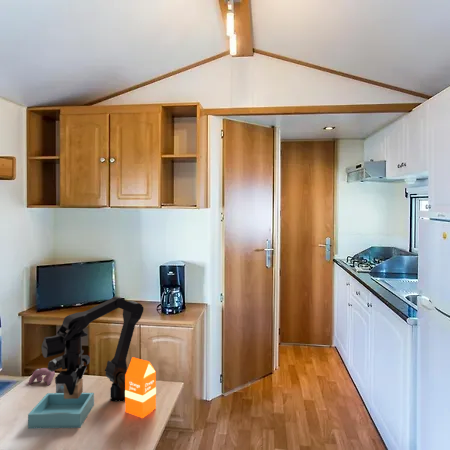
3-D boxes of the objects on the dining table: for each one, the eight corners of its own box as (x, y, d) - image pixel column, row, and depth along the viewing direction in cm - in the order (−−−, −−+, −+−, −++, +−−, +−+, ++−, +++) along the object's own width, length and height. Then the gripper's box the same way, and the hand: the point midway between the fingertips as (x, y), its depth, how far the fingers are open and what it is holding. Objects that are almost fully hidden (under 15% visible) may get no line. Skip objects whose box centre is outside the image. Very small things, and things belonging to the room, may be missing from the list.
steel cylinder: (70, 390, 155) (70, 374, 154) (66, 396, 150) (66, 379, 149) (58, 390, 154) (58, 374, 154) (53, 396, 149) (53, 380, 149)
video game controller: (53, 385, 162) (57, 368, 165) (48, 385, 158) (52, 368, 161) (32, 384, 163) (36, 367, 166) (26, 384, 159) (31, 367, 162)
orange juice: (142, 418, 134) (142, 365, 133) (124, 412, 138) (124, 360, 138) (156, 408, 141) (156, 357, 140) (138, 402, 145) (138, 353, 144)
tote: (93, 405, 143) (93, 392, 143) (80, 427, 128) (80, 413, 128) (47, 405, 142) (47, 393, 142) (28, 428, 127) (28, 414, 127)
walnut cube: (82, 391, 138) (82, 378, 138) (77, 398, 133) (77, 385, 133) (69, 391, 138) (69, 378, 137) (64, 398, 133) (63, 385, 132)
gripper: (61, 341, 144) (62, 379, 144) (39, 360, 125) (40, 404, 126) (90, 340, 144) (90, 379, 145) (72, 360, 125) (72, 404, 126)
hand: (73, 391), depth 135 cm, fingers closed on walnut cube, 5 cm apart
